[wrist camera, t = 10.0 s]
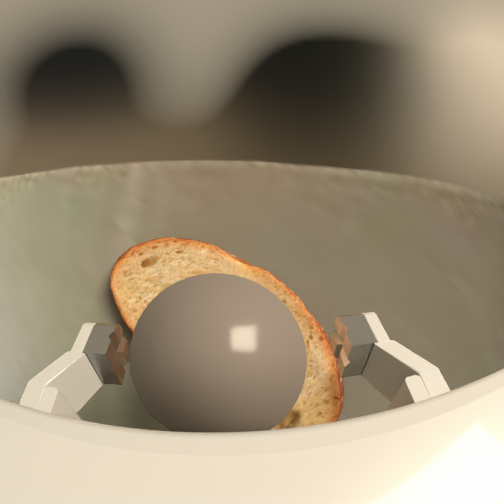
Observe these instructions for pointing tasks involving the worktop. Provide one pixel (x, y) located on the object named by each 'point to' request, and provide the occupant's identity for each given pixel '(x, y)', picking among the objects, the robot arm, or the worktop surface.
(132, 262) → the slice of bread
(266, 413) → the grey-capped jar
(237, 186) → the worktop surface
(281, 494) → the robot arm
